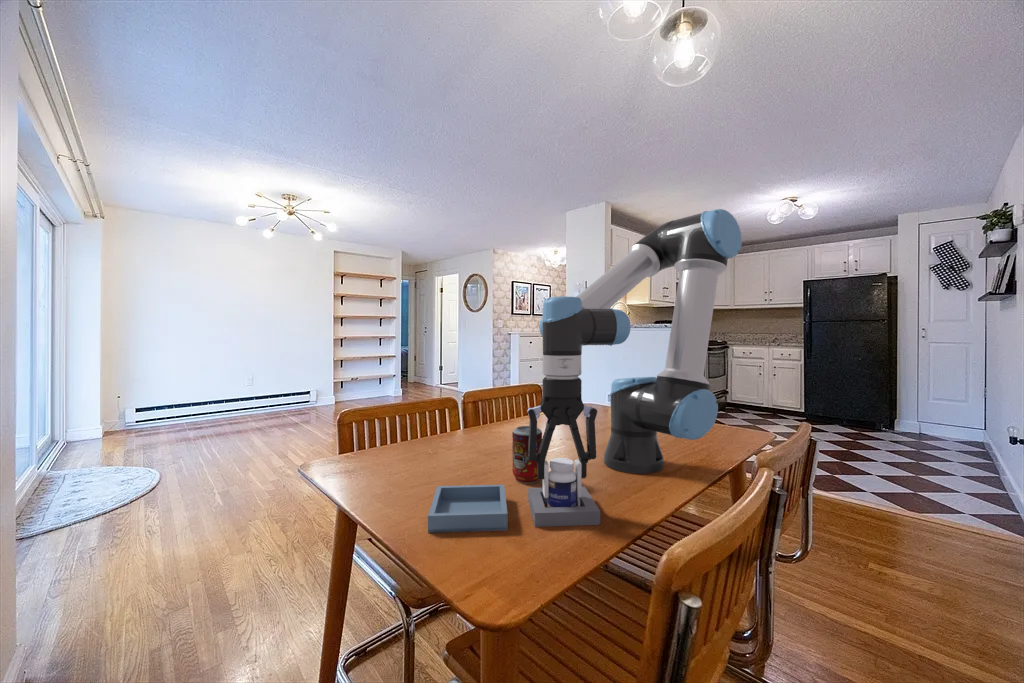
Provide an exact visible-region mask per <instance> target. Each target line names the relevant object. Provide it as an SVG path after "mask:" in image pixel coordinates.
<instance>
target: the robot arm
mask: <svg viewBox="0 0 1024 683" xmlns="http://www.w3.org/2000/svg"><path fill="white" fill-rule="evenodd" d="M742 236H743V235H742V231H741V228H740V225H739V222H737V219H736V218H735V217H734V215H733V214H732V213H731V212H729V211H728V210H726V209H723V208H718V209H712V210H705V211H704V210H703V211H702V212H701V213H697V214H693V215H689V216H686V217H682V218H678V219H674V220H671V221H668V222H665V223H662V224H661V225H659V226H658V227H655V229H653V230H652V231H650V232H649V233H648V234H646V235H644V236H643V237H642V238H641V239H640V240H638V241H637V242H635V243H634V244H633V245H632V246H630V248H629V250H628V252H627V255H626V256H625V257H623V258H621V260H619V261H618V262H616V264H614V265H613V266H612V267H611V268H610V269H608V270H607V271H606V272H605V273H603V274H602V275H601V276H600V277H599V278H597V279H596V280H595V281H593V282H592V283H591V284H590V285H589V286H588V287H586V288H585V289H584V290H583V291H581V292H580V293H579V294H577V295H576V296H551V297H547V298H546V299H544V302H543V304H542V306H543V307H542V317H541V318H540V320H539V324H538V325H539V326H538V328H539V332H540V335H541V337H542V374H543V376H545V377H543V379H542V400H541V402H540V403H539V405H537V406H534V407H532V406H529V407H527V408H526V409H527V410H526V412H527V415H528V418H529V425H528V426H529V444H528V456H529V459H530V460H531V461H536V462H537V475H538V478H539V480H542V488H543V495H544V498H548V478H549V472H550V470H549V468H550V463H549V462H548V459H547V455H548V451H549V449H550V445H551V441H552V438H553V434H554V431H555V430H556V427H557V426H561V425H565V426H568V427H569V429H570V433H571V436H572V439H573V443H574V447H575V450H576V454H577V457H578V458H577V459H574V473H575V474H576V478H577V487H576V495H577V497H581V487H582V479H586V477H587V467H588V466H587V464H588V463H589V461H591V460H596V458H597V443H596V442H597V441H596V418H597V415H598V409H597V408H595V407H593V406H588V405H584V403H583V400H582V379H581V377H579V376H581V375H582V354H583V353H582V350H583V346H610V347H611V346H613V345H620V344H623V343H625V342H626V340H627V339H628V338H629V336H630V333H631V320H630V317H629V316H628V315H627V313H626V312H625V311H623V310H621V309H615V308H613V306H614V305H616V304H617V303H618V302H619V301H620V300H621V299H623V297H625V296H626V295H628V293H630V292H631V291H632V290H633V289H634V288H636V287H637V286H638V285H639V284H640V283H641V282H643V280H645V279H646V278H650V277H654V276H655V275H656V274H658V273H659V272H660V271H662V270H665V269H668V268H673V267H674V269H675V270H676V271H677V272H678V274H679V276H678V281H677V282H678V283H677V288H676V294H675V301H674V307H673V315H672V321H671V327H670V333H669V341H668V346H667V347H668V348H667V352H666V353H667V354H666V359H665V367H664V369H663V370H662V371H660V372H659V373H658V374H657V375H656V376H638V377H625V378H615V379H614V380H612V382H611V384H610V385H611V387H610V390H611V391H610V394H609V395H610V434H609V438H608V441H607V444H606V448H605V450H604V453H603V464H604V465H606V466H607V467H608V468H610V469H613V470H615V471H618V472H622V473H629V474H641V475H642V474H654V473H657V472H660V471H663V469H664V466H665V464H664V462H665V460H664V454H663V453H662V452H663V451H662V450H661V446H660V444H659V440H658V434H657V433H661V434H665V435H667V436H668V435H669V436H672V437H674V438H677V439H683V440H684V439H685V440H690V441H694V440H698V439H701V438H703V437H705V436H706V435H707V434H708V433H709V432H710V430H712V429H713V426H714V424H715V423H716V420H717V418H718V411H719V405H718V404H719V403H718V401H717V398H716V395H715V394H714V393H713V392H711V391H710V382H709V381H708V380H707V378H706V377H705V369H706V368H705V367H706V361H707V354H708V347H709V341H710V334H711V329H712V328H711V327H712V320H713V313H714V306H715V302H716V301H715V300H716V299H715V298H716V293H717V286H718V285H717V284H718V279H719V277H720V275H722V274H723V273H725V272H726V271H727V267H728V260H729V259H733V258H735V257H736V256H738V254H739V253H740V252H741V249H742V243H743V237H742ZM541 412H542V414H543V415H544V416H545V418H546V419H547V421H546V424H545V429H544V433H543V434H542V441H541V445H540V448H539V452H538V454H537V453H536V437H537V428H538V419H539V418H540V417H541V416H540V413H541ZM582 412H583V415H584V416H583V417H585V431H586V432H585V434H586V451H585V447H584V444H583V441H582V438H581V434H580V430H579V426H578V423H577V419H578V417H580V415H581V414H582Z"/></svg>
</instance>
